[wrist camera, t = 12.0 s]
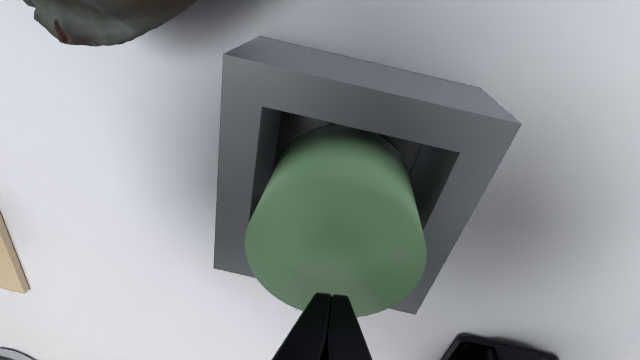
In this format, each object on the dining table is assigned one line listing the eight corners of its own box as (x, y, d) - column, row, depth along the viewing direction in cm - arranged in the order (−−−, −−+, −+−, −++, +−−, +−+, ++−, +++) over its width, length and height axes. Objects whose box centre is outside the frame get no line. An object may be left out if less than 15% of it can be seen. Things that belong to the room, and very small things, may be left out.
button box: (405, 251, 18) (415, 314, 14) (242, 213, 18) (213, 268, 14) (480, 87, 13) (521, 124, 10) (259, 36, 13) (223, 54, 10)
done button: (385, 251, 15) (392, 332, 11) (267, 224, 15) (238, 296, 11) (430, 143, 12) (458, 207, 8) (284, 109, 12) (253, 159, 8)
